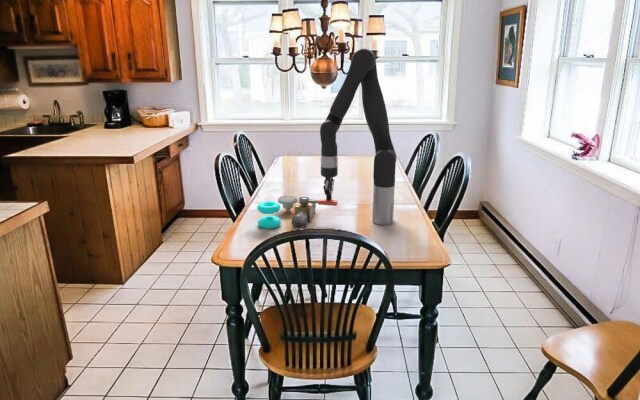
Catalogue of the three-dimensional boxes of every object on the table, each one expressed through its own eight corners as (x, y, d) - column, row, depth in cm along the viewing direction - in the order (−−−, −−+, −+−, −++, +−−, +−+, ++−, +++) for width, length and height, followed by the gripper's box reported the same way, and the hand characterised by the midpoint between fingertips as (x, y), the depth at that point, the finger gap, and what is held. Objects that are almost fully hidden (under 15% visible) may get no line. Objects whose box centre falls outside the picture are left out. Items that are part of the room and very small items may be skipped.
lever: (298, 204, 209) (298, 199, 209) (300, 201, 213) (300, 196, 213) (336, 206, 206) (336, 202, 205) (337, 203, 210) (337, 199, 209)
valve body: (317, 211, 223) (317, 196, 220) (305, 228, 203) (305, 212, 200) (302, 210, 224) (302, 195, 222) (290, 227, 204) (289, 211, 202)
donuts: (278, 199, 209) (281, 206, 200) (279, 220, 212) (282, 228, 203) (255, 201, 207) (258, 208, 198) (256, 222, 210) (259, 230, 201)
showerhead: (289, 201, 215) (273, 197, 221) (289, 216, 217) (274, 211, 223) (302, 196, 222) (287, 192, 228) (302, 210, 224) (287, 206, 230)
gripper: (334, 169, 201) (334, 207, 206) (340, 162, 213) (339, 198, 218) (317, 168, 202) (317, 206, 208) (324, 161, 214) (324, 197, 220)
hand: (328, 202), depth 213 cm, fingers closed
